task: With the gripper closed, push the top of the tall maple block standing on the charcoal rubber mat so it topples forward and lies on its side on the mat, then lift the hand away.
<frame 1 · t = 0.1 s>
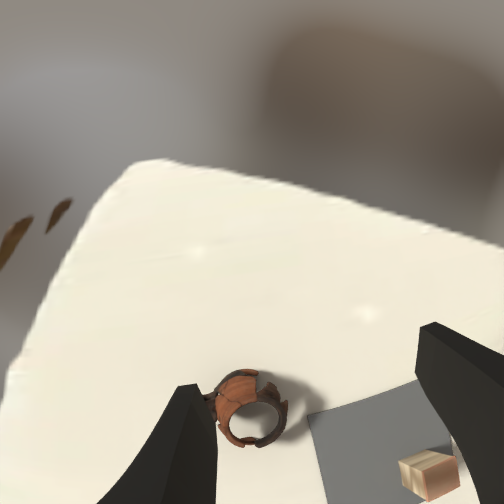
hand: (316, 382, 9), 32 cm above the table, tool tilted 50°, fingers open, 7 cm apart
maple block: (414, 467, 30), resting on charcoal mat
charcoal mat: (388, 456, 32), on the table
brown curved piece: (241, 406, 38), on the table
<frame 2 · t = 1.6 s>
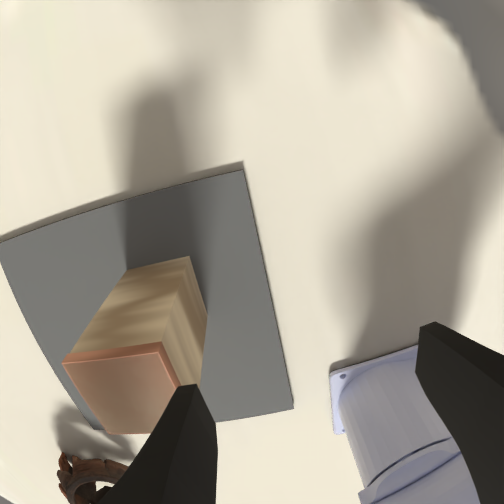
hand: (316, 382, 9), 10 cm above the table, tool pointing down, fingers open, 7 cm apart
maple block: (167, 293, 19), resting on charcoal mat
charcoal mat: (141, 337, 20), on the table
brown curved piece: (104, 466, 27), on the table
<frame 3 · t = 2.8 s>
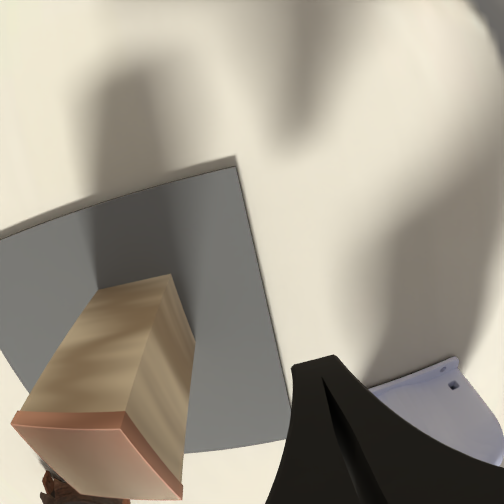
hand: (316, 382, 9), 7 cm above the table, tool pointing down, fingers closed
maple block: (146, 317, 15), resting on charcoal mat
charcoal mat: (121, 364, 17), on the table
brown curved piece: (90, 485, 23), on the table
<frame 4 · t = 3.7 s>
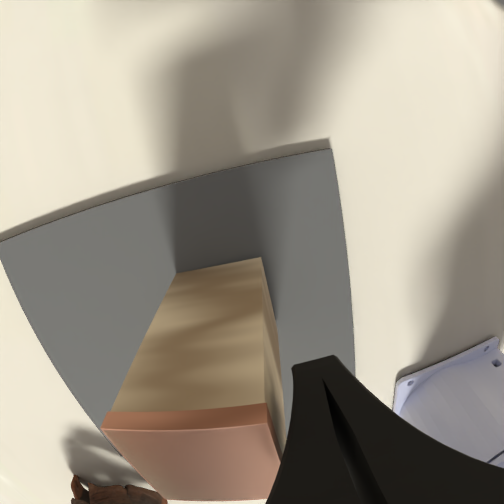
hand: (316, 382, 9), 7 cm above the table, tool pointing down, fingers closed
maple block: (228, 303, 15), point 1 cm above the table, touching charcoal mat, gripper
charcoal mat: (189, 354, 17), on the table
brown curved piece: (123, 488, 23), on the table
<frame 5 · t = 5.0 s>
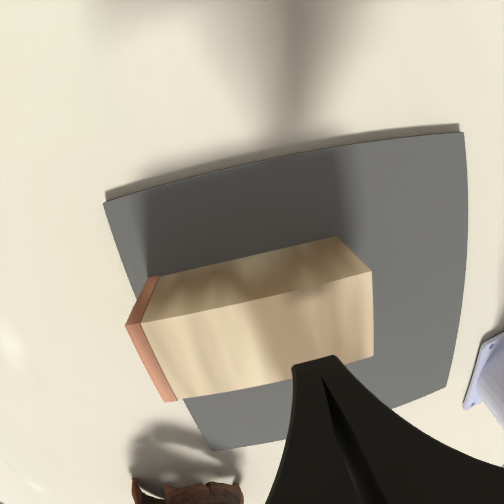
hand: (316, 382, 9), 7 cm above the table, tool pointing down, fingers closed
maple block: (355, 293, 13), point 2 cm above the table, tilted 90°, touching charcoal mat
charcoal mat: (326, 324, 17), on the table
brown curved piece: (188, 487, 23), on the table
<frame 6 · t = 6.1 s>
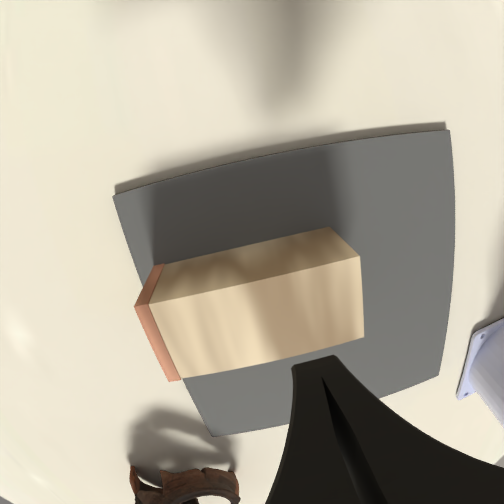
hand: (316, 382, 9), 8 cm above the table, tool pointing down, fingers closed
maple block: (346, 279, 15), point 2 cm above the table, tilted 90°, touching charcoal mat
charcoal mat: (320, 311, 18), on the table
brown curved piece: (185, 475, 24), on the table
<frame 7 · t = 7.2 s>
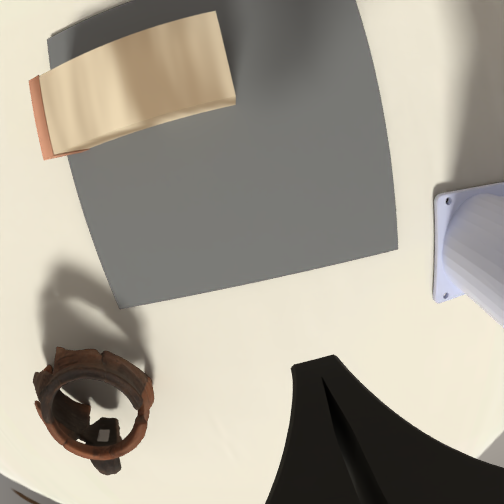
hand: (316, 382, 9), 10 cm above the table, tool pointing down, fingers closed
maple block: (226, 61, 13), point 2 cm above the table, tilted 90°, touching charcoal mat
charcoal mat: (221, 127, 16), on the table
brown curved piece: (103, 384, 23), on the table
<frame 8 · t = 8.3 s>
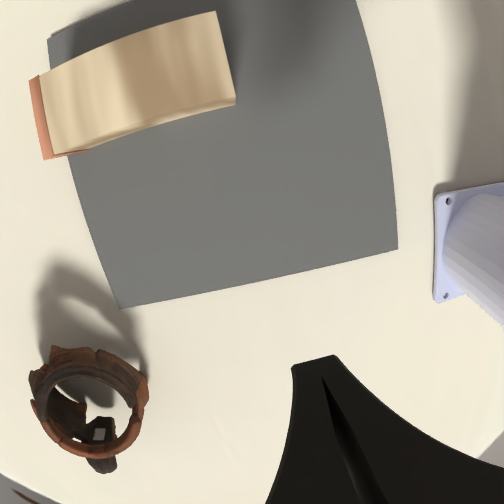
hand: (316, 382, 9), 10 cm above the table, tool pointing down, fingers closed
maple block: (226, 61, 13), point 2 cm above the table, tilted 90°, touching charcoal mat
charcoal mat: (221, 127, 16), on the table
brown curved piece: (98, 383, 23), on the table
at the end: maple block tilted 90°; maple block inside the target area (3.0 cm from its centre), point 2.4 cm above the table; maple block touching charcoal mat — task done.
